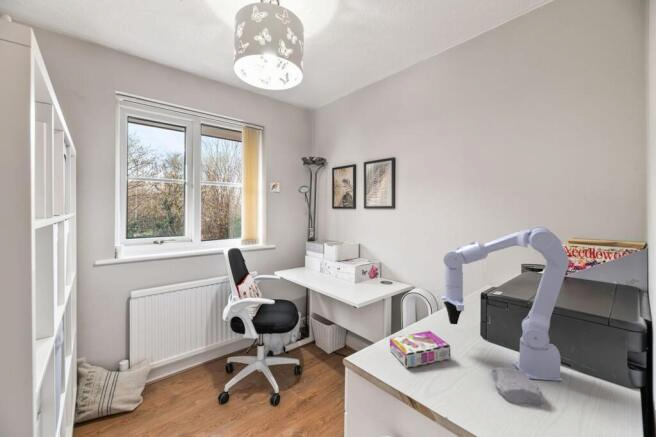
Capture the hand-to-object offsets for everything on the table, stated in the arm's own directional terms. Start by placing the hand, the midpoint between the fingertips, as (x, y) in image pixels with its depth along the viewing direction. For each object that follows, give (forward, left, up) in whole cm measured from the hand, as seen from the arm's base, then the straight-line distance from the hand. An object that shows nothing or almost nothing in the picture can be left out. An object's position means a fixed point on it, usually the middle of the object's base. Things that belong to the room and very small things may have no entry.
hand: (453, 323), depth 96 cm
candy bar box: (+5, +2, -7) cm, 8 cm away
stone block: (-10, +19, -10) cm, 24 cm away
